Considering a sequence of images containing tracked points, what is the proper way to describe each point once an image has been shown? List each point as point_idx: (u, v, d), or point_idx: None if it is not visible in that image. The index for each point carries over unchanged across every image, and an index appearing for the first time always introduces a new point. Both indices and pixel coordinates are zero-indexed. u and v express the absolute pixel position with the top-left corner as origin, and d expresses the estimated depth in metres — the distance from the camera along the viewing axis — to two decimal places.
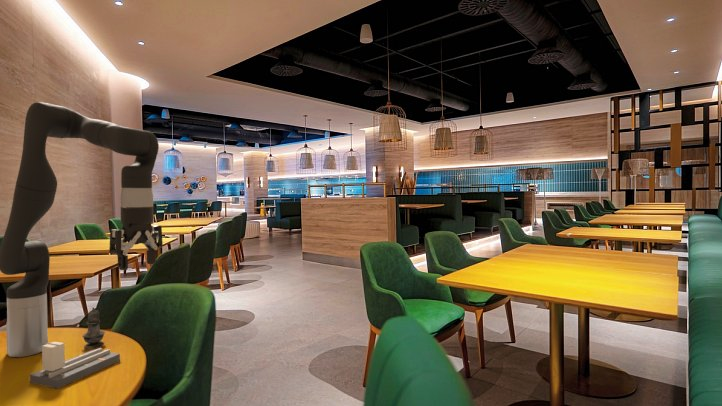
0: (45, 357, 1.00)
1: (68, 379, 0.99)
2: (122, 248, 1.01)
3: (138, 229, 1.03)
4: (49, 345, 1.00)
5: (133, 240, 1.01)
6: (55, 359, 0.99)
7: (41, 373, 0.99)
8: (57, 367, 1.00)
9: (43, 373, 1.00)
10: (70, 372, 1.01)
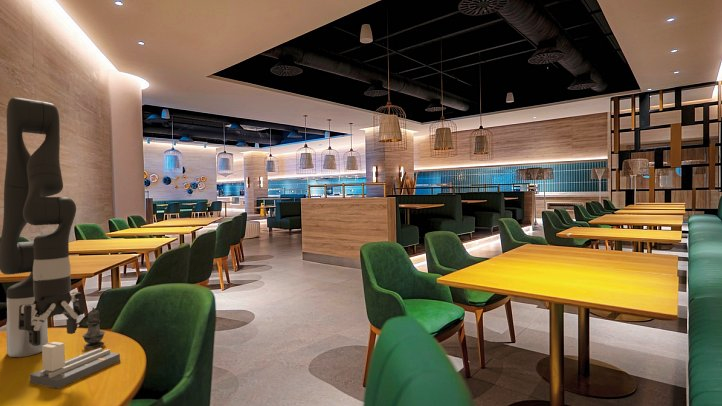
0: (45, 357, 1.00)
1: (68, 379, 0.99)
2: (34, 322, 0.97)
3: (53, 301, 0.99)
4: (49, 345, 1.00)
5: (46, 313, 0.97)
6: (55, 359, 0.99)
7: (41, 373, 0.99)
8: (57, 367, 1.00)
9: (43, 373, 1.00)
10: (70, 372, 1.01)
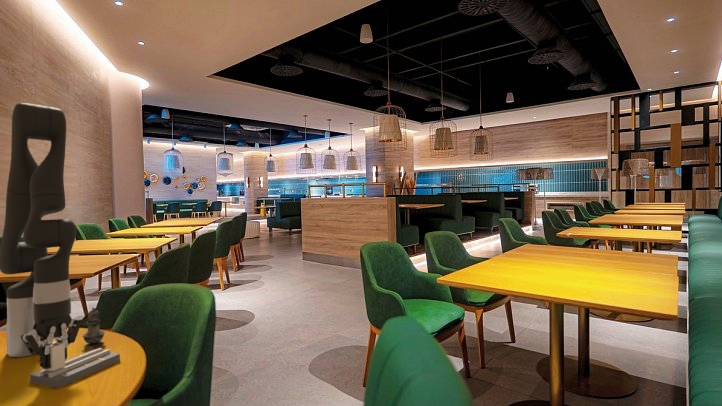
0: None
1: (68, 379, 0.99)
2: (43, 345, 0.99)
3: (53, 323, 1.00)
4: None
5: (50, 337, 0.98)
6: (55, 359, 1.00)
7: (41, 373, 0.99)
8: (57, 367, 1.00)
9: (43, 373, 1.00)
10: (70, 372, 1.01)
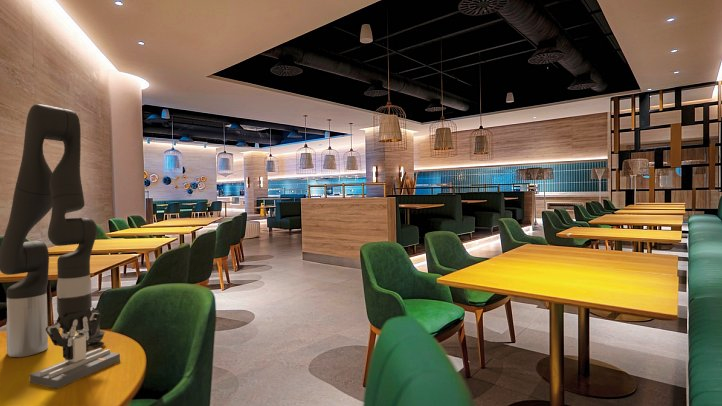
0: None
1: (68, 379, 0.99)
2: (66, 338, 1.04)
3: (75, 317, 1.05)
4: None
5: (72, 330, 1.04)
6: (77, 350, 1.05)
7: (41, 373, 0.99)
8: (79, 358, 1.05)
9: (43, 373, 1.00)
10: (70, 372, 1.01)
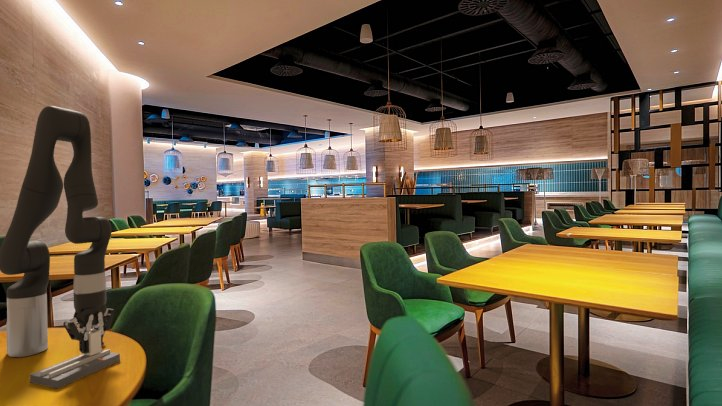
0: None
1: (68, 379, 0.99)
2: (82, 332, 1.09)
3: (91, 312, 1.09)
4: None
5: (88, 325, 1.08)
6: (93, 344, 1.09)
7: (41, 373, 0.99)
8: (95, 352, 1.09)
9: (43, 373, 1.00)
10: (70, 372, 1.01)
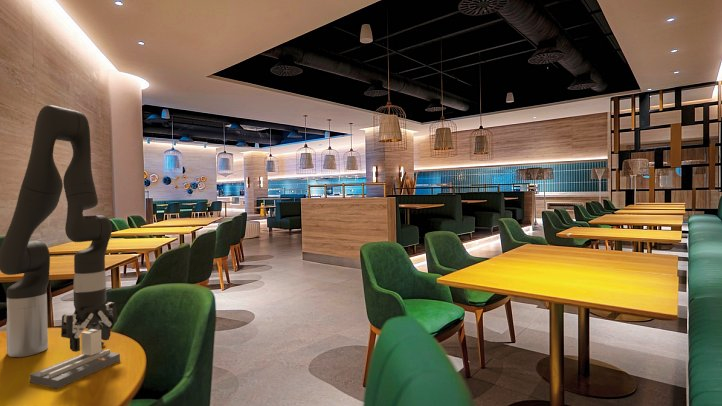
0: (84, 342, 1.09)
1: (68, 379, 0.99)
2: (74, 330, 1.07)
3: (91, 310, 1.09)
4: (87, 332, 1.10)
5: (85, 322, 1.07)
6: (93, 344, 1.09)
7: (41, 373, 0.99)
8: (95, 352, 1.09)
9: (43, 373, 1.00)
10: (70, 372, 1.01)
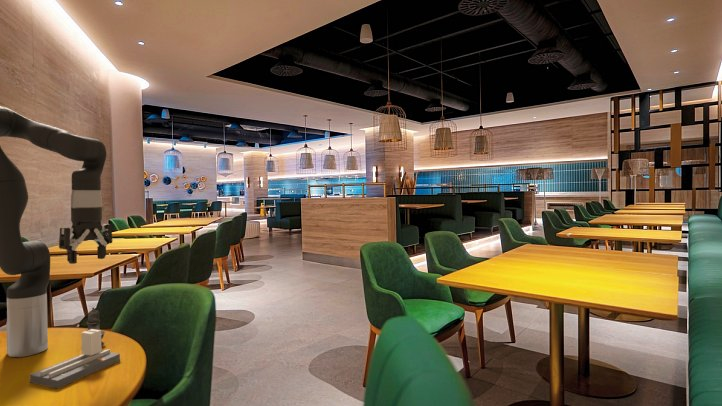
0: (84, 342, 1.09)
1: (68, 379, 0.99)
2: (72, 244, 1.13)
3: (87, 227, 1.15)
4: (87, 332, 1.10)
5: (82, 237, 1.13)
6: (93, 344, 1.09)
7: (41, 373, 0.99)
8: (95, 352, 1.09)
9: (43, 373, 1.00)
10: (70, 372, 1.01)
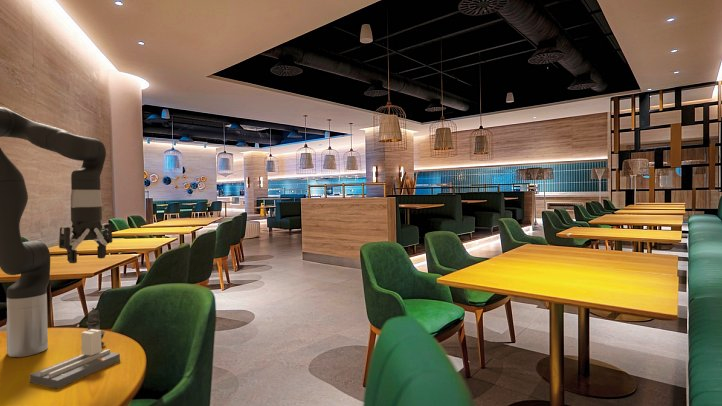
0: (84, 342, 1.09)
1: (68, 379, 0.99)
2: (72, 244, 1.13)
3: (87, 227, 1.15)
4: (87, 332, 1.10)
5: (82, 236, 1.13)
6: (93, 344, 1.09)
7: (41, 373, 0.99)
8: (95, 352, 1.09)
9: (43, 373, 1.00)
10: (70, 372, 1.01)
